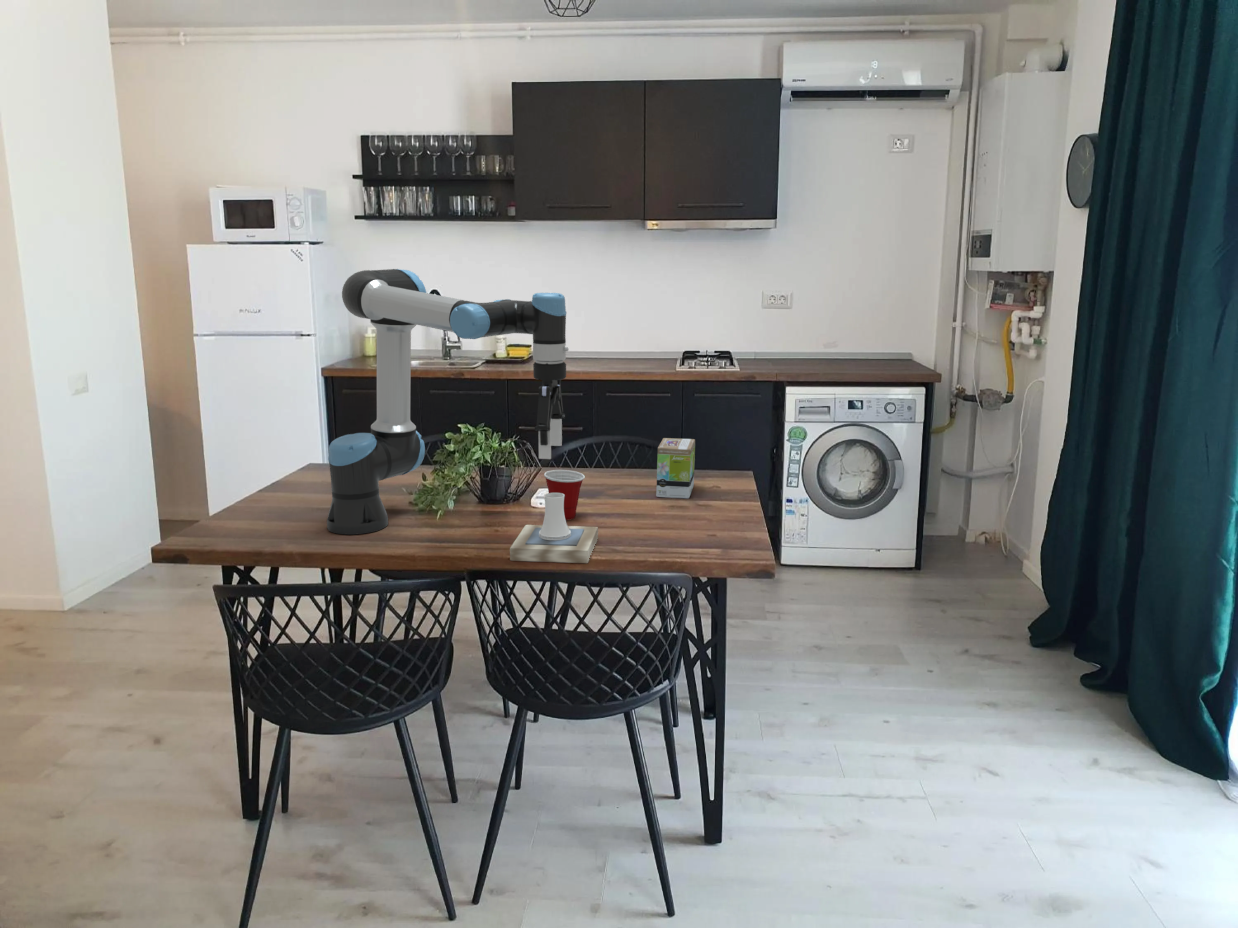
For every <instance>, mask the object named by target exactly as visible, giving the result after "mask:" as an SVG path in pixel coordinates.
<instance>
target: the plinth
mask: <svg viewBox="0 0 1238 928" xmlns="http://www.w3.org/2000/svg"><path fill="white" fill-rule="evenodd" d="M542 525H543V524H525V525H524V527H523V528H522V530H521V531H520V533H519V534H518V536H517V537H516V539H515V540H514V541H513V543H512V544H511V546H510V547H509V560H510V561H513V562H514V561H515V562H516V561H517V562H539V563H540V562H541V563H542V562H544V563H545V562H546V563H569V564H571V563H573V564H588V563H589V562H590V559H591V557H590V555H591V556H592V554H593V552H592V551H594V550H593V549H594V548H595V547H596V545H595V544H597V542H598V540H599V527H598V526H584V525H583V526H580V525H567V526H568V529H569V530H570V531H571V533H570V534H571V536H570V537H569V538H567V539H564V540H545V539H542V538H540V537H539V531H540V530H541V528H542ZM597 539H598V540H597ZM594 546H595V547H594ZM591 553H592V554H591ZM589 558H590V559H589Z"/></svg>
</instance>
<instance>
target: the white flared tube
mask: <svg viewBox="0 0 1238 928" xmlns="http://www.w3.org/2000/svg"><path fill="white" fill-rule="evenodd" d="M564 496H565V495H564V494H562V493H549V492H548V493H545V494H544V495H543V497H544V507H545V508H544V516H543V517H544V518H543V522H542V524H541V525H542V528H541V530H540V531H539V537H540V538H542V539H545V540H564V539H567V538H569V537H570V536H571V534H570V533H571V531H570V530H569V529H568V526H569V525H568V523H567V520H565V515H564Z"/></svg>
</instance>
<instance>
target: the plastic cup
mask: <svg viewBox="0 0 1238 928" xmlns="http://www.w3.org/2000/svg"><path fill="white" fill-rule="evenodd" d="M543 476H544V478H545V483H546V486H547V490H548V491H547V492H548V493H562V494H564V495H565V496H564V515H565V520H566V521H570V520H571V521H572V520H574V519H575V518H576V514H577V508H578V503H579V502H578V501H579V497H580V492H581V487H582V484H583V482H584V480H585V475H584V474H583V473H582V472H579V471H576V470H568V469H553V470H547V471H545V472H544V475H543Z"/></svg>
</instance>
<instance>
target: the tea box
mask: <svg viewBox="0 0 1238 928" xmlns="http://www.w3.org/2000/svg"><path fill="white" fill-rule="evenodd" d="M695 454H696V439H694V438H676V437H675V438H673V437H672V438H671V437H663V438H662V440H661V442H660V443H659V445H658V447H657V457H656V458H657V462H656V492H655V495H656V497H657V498H670V499H671V498H672V499H690V496H691V494H692V491H693V488H694V485H695V461H696V459H695V457H696V455H695Z"/></svg>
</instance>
